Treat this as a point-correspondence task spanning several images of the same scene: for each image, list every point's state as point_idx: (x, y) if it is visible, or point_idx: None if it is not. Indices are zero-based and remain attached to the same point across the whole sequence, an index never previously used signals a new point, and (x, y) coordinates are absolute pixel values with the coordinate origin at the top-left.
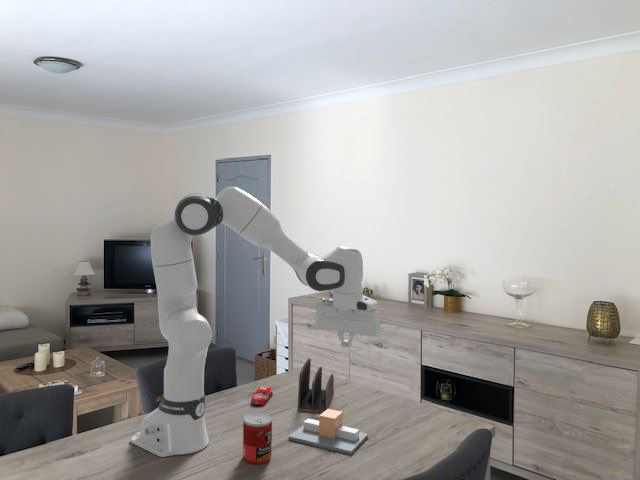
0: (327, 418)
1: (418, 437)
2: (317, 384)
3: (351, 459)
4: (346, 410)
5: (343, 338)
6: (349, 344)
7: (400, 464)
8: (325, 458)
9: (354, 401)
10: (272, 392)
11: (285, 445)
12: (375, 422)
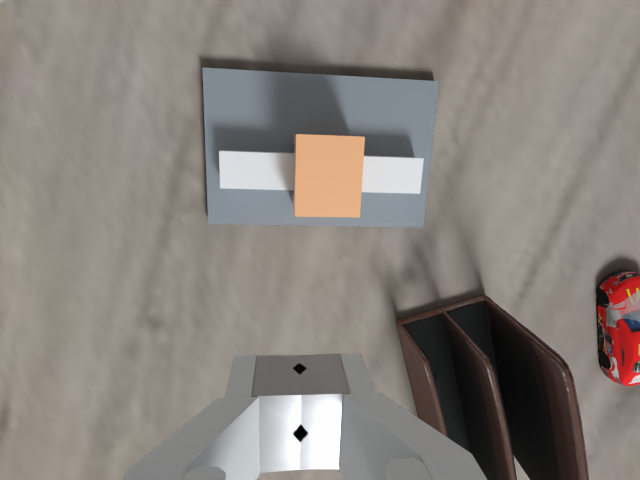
0: (327, 135)
1: (65, 294)
2: (482, 424)
3: (190, 36)
4: None
5: (357, 460)
6: (232, 371)
7: (31, 76)
8: (270, 2)
9: None
10: (606, 372)
11: (427, 35)
12: (231, 333)
